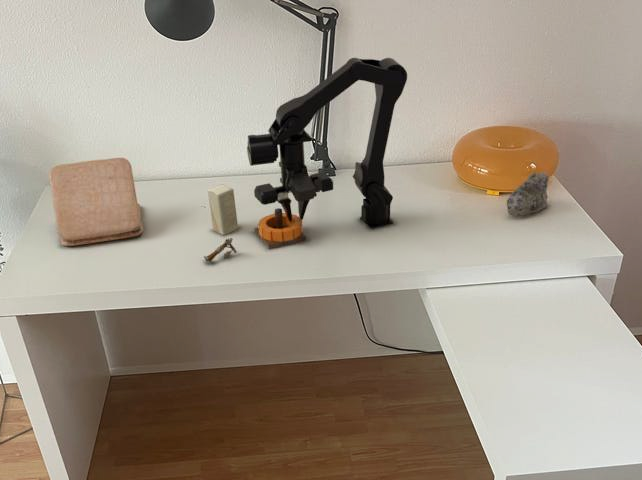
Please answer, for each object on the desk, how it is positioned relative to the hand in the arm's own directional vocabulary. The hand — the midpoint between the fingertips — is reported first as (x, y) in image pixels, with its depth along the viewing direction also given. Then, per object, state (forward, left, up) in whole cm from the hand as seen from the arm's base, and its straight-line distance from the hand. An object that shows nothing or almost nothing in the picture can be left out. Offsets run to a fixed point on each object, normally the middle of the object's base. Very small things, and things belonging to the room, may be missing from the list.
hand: (295, 220), depth 189 cm
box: (+15, -10, -4) cm, 19 cm away
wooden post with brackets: (+21, +4, -4) cm, 22 cm away
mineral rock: (-58, +16, -4) cm, 60 cm away
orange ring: (+4, 0, -2) cm, 5 cm away
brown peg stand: (+4, 0, -3) cm, 6 cm away
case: (+43, -27, -4) cm, 51 cm away
